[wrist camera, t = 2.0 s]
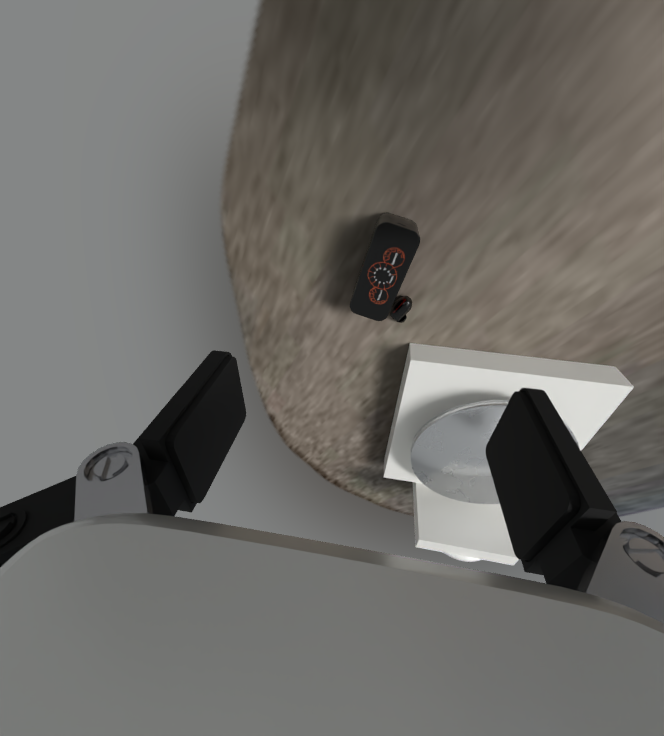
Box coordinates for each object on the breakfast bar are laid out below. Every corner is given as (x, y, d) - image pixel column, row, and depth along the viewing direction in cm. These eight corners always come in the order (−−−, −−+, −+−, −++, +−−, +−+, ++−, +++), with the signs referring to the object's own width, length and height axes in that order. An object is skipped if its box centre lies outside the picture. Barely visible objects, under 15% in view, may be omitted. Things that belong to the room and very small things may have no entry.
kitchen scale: (409, 342, 26) (414, 418, 19) (615, 366, 25) (700, 458, 18) (381, 469, 37) (378, 546, 31) (521, 492, 36) (551, 578, 29)
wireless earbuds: (349, 301, 25) (344, 320, 23) (381, 208, 21) (379, 219, 18) (403, 319, 25) (404, 340, 23) (446, 230, 21) (453, 244, 18)
